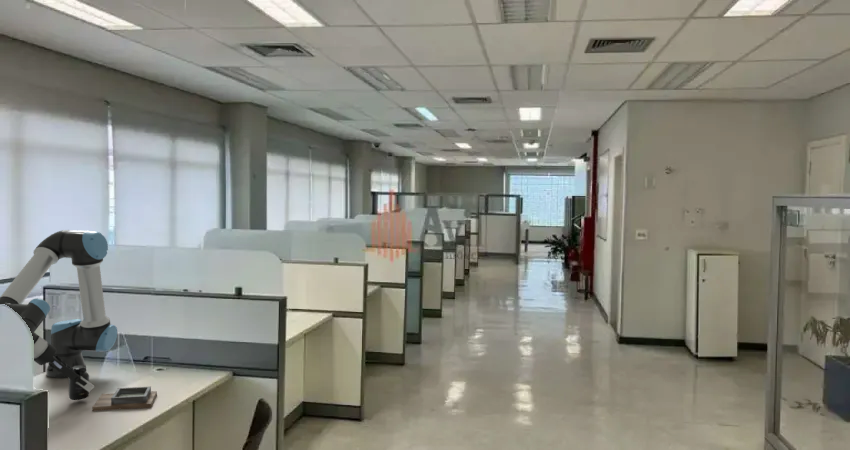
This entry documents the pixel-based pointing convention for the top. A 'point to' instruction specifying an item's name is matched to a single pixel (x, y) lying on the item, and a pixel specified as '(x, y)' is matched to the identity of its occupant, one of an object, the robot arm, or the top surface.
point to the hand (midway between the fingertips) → (89, 386)
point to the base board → (126, 399)
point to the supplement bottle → (76, 390)
